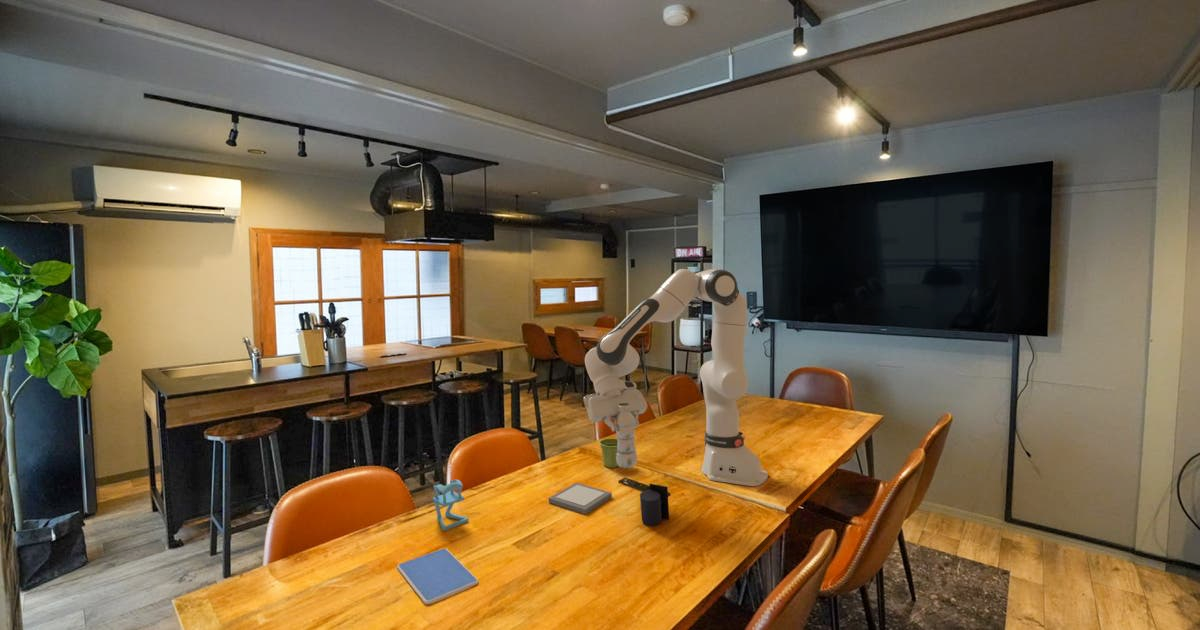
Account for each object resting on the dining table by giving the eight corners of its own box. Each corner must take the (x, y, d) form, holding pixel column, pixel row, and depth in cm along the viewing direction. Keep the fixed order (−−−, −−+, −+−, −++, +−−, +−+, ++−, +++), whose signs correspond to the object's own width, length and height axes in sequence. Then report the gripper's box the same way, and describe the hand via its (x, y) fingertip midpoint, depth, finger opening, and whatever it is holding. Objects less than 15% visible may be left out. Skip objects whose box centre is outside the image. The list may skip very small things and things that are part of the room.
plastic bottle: (615, 463, 165) (611, 402, 163) (636, 461, 165) (633, 400, 163) (617, 471, 158) (614, 408, 156) (639, 469, 159) (636, 406, 157)
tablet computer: (395, 569, 124) (395, 563, 124) (445, 550, 132) (445, 546, 132) (425, 608, 109) (425, 602, 109) (480, 585, 117) (480, 580, 117)
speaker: (654, 512, 151) (653, 479, 149) (669, 519, 147) (668, 486, 145) (636, 523, 146) (635, 489, 144) (652, 531, 142) (651, 497, 140)
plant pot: (625, 460, 193) (625, 438, 192) (624, 470, 184) (624, 446, 183) (600, 460, 194) (600, 437, 193) (598, 469, 185) (598, 446, 184)
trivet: (611, 497, 162) (611, 492, 161) (585, 514, 150) (585, 509, 150) (576, 487, 170) (576, 482, 169) (548, 502, 158) (548, 497, 158)
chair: (454, 512, 152) (452, 473, 152) (468, 521, 147) (467, 480, 146) (429, 521, 147) (428, 480, 146) (443, 531, 141) (442, 488, 140)
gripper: (584, 390, 161) (600, 428, 153) (639, 381, 170) (656, 417, 163) (578, 401, 165) (593, 439, 157) (632, 392, 175) (649, 427, 167)
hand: (626, 428), depth 160 cm, fingers closed on plastic bottle, 6 cm apart
